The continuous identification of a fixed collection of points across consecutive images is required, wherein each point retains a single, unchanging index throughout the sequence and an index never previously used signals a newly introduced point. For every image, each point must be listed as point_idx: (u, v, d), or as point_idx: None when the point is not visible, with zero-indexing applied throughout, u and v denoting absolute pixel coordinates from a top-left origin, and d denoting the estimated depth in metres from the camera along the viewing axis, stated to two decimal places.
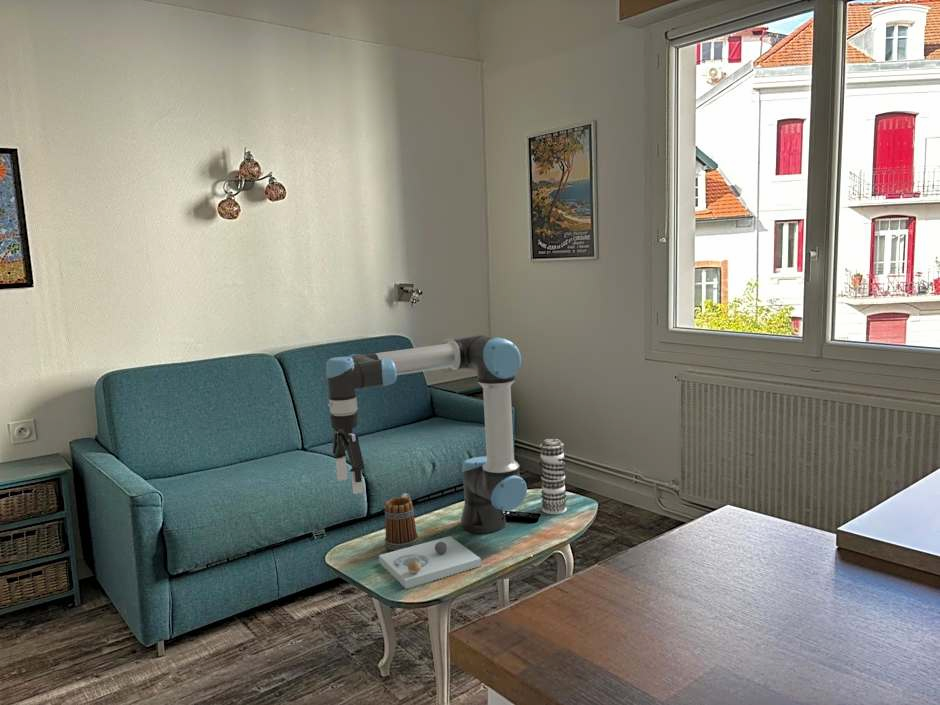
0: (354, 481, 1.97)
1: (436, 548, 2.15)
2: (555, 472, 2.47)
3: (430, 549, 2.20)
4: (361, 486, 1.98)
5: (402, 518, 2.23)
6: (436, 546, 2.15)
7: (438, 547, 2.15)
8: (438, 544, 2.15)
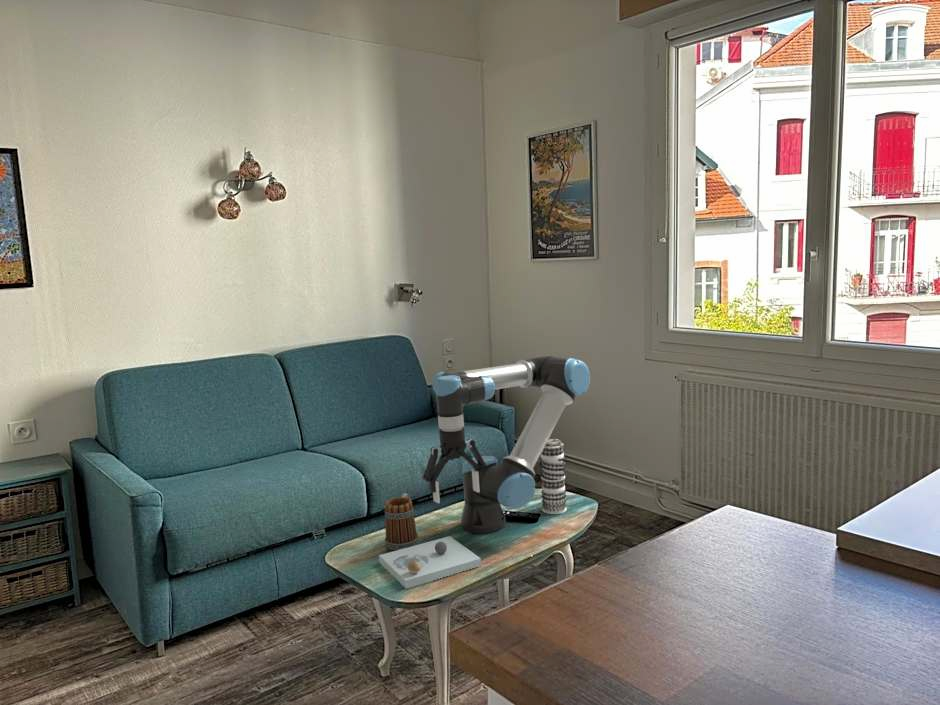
0: None
1: (436, 548, 2.15)
2: (555, 472, 2.47)
3: (430, 549, 2.20)
4: (436, 497, 2.13)
5: (402, 518, 2.23)
6: (436, 546, 2.15)
7: (438, 547, 2.15)
8: (438, 544, 2.15)
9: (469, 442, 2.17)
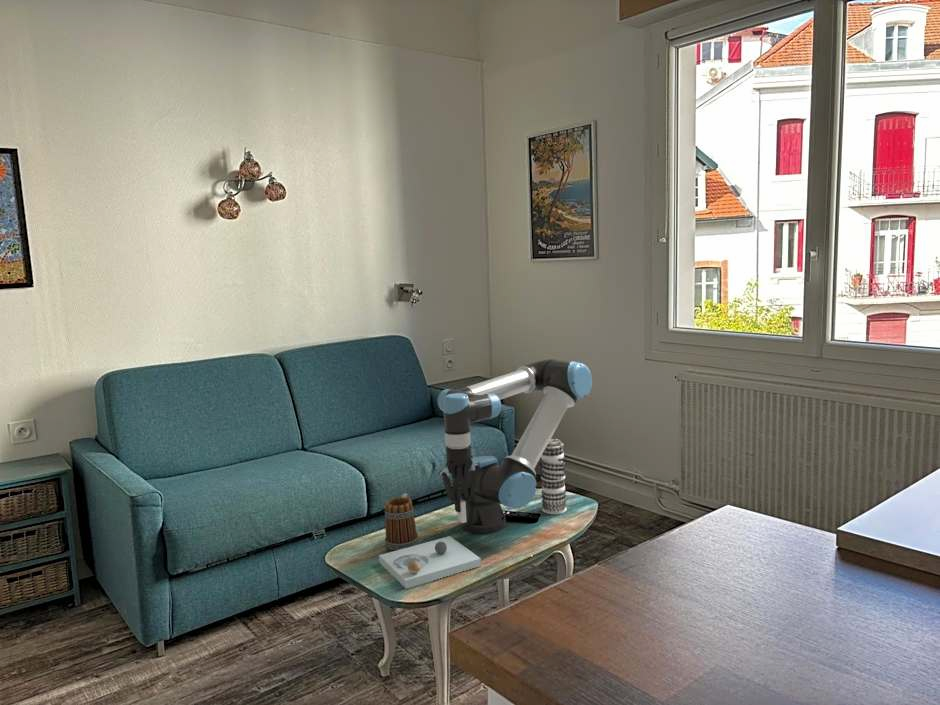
0: None
1: (436, 548, 2.15)
2: (555, 472, 2.47)
3: (430, 549, 2.20)
4: (461, 517, 2.17)
5: (402, 518, 2.23)
6: (436, 546, 2.15)
7: (438, 547, 2.15)
8: (438, 544, 2.15)
9: (475, 465, 2.18)
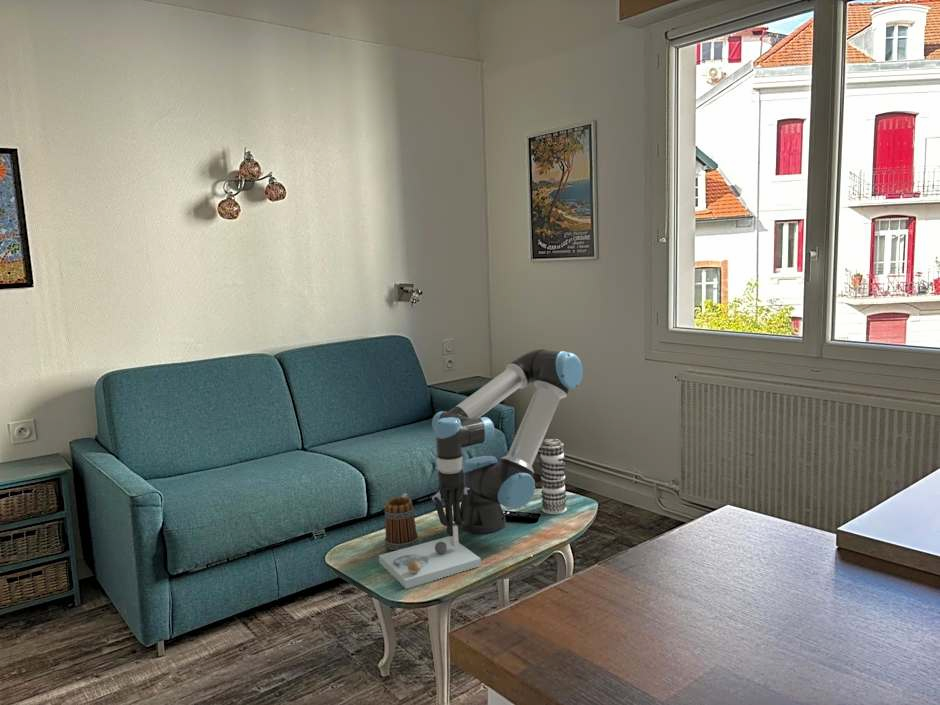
0: None
1: (436, 548, 2.15)
2: (555, 472, 2.47)
3: (430, 549, 2.20)
4: (453, 541, 2.17)
5: (402, 518, 2.23)
6: (436, 546, 2.15)
7: (438, 547, 2.15)
8: (438, 544, 2.15)
9: (467, 489, 2.18)
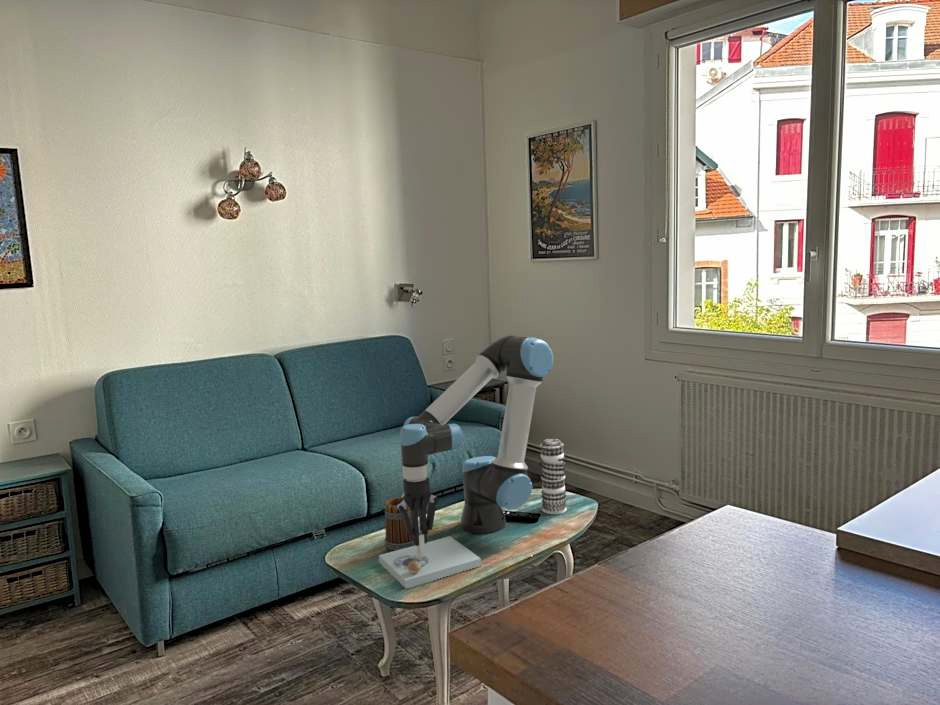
0: None
1: None
2: (555, 472, 2.47)
3: (430, 549, 2.20)
4: (419, 551, 2.12)
5: None
6: (404, 564, 2.11)
7: (405, 565, 2.10)
8: (406, 562, 2.11)
9: (433, 497, 2.13)
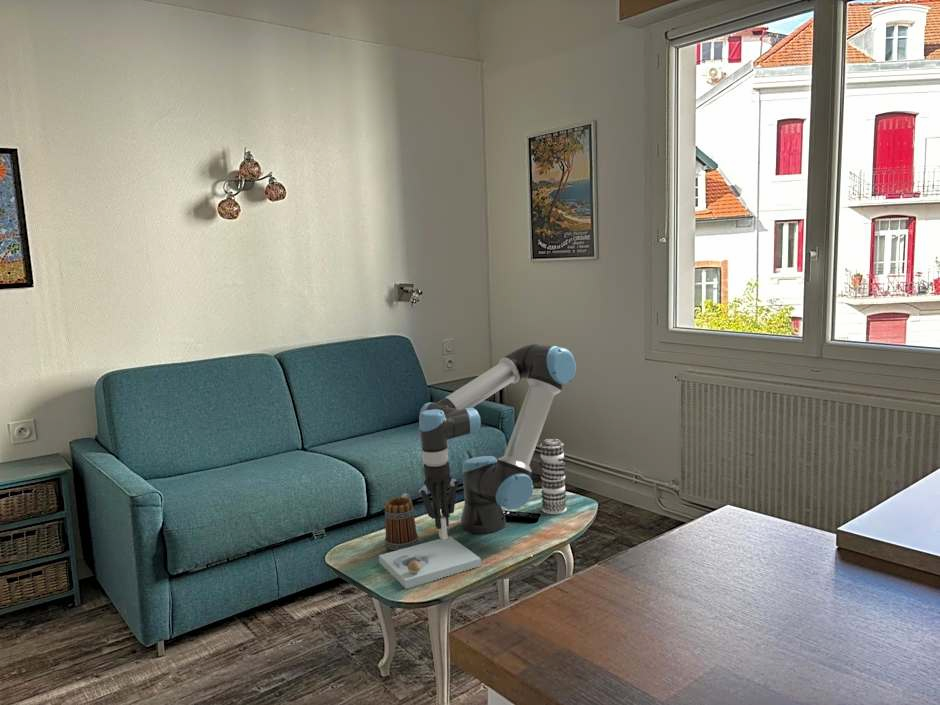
0: None
1: (410, 561, 2.11)
2: (555, 472, 2.47)
3: (430, 549, 2.20)
4: (442, 533, 2.16)
5: (402, 518, 2.23)
6: (410, 559, 2.12)
7: None
8: (413, 558, 2.12)
9: (454, 481, 2.16)
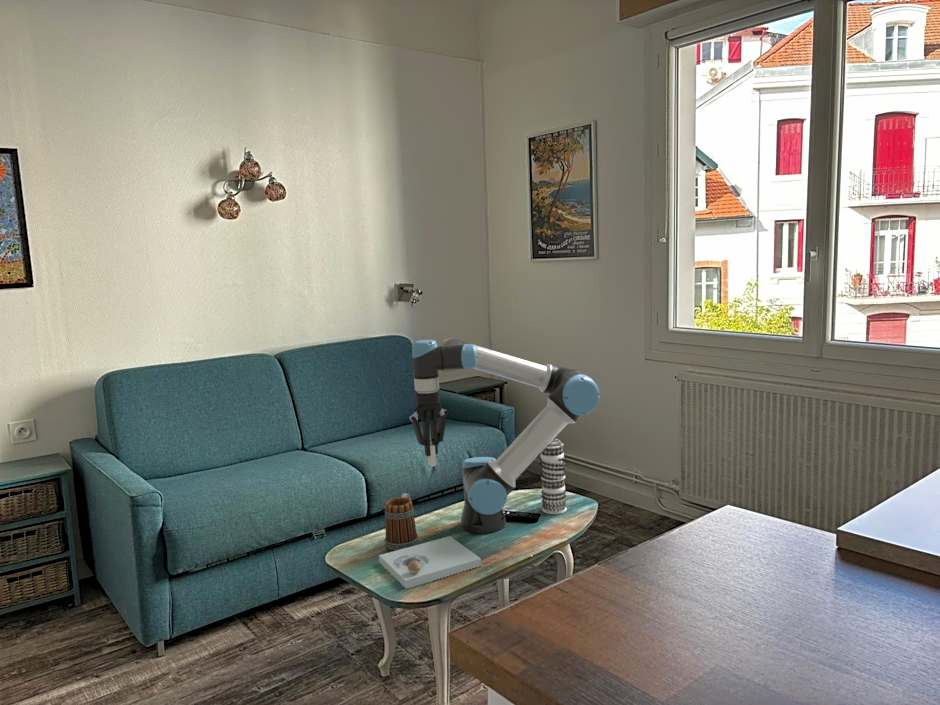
0: None
1: (409, 561, 2.11)
2: (555, 471, 2.47)
3: (430, 549, 2.20)
4: (431, 461, 2.23)
5: (402, 518, 2.23)
6: (410, 559, 2.11)
7: None
8: (413, 558, 2.12)
9: (444, 410, 2.24)
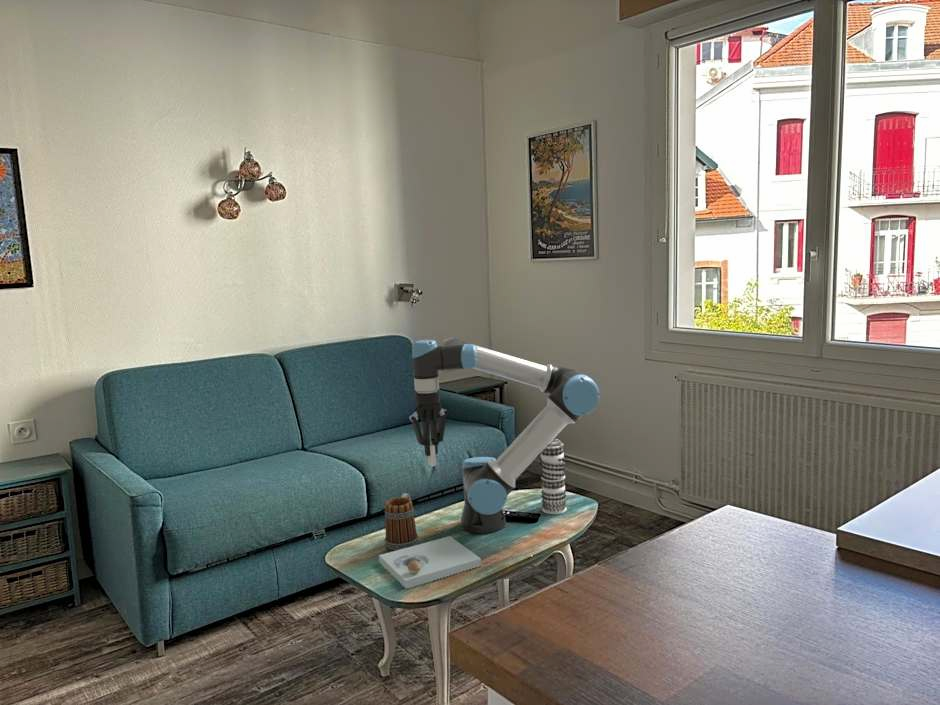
0: None
1: (409, 561, 2.11)
2: (555, 472, 2.47)
3: (430, 549, 2.20)
4: (430, 461, 2.23)
5: (402, 518, 2.23)
6: (410, 559, 2.11)
7: None
8: (413, 558, 2.12)
9: (444, 410, 2.24)
